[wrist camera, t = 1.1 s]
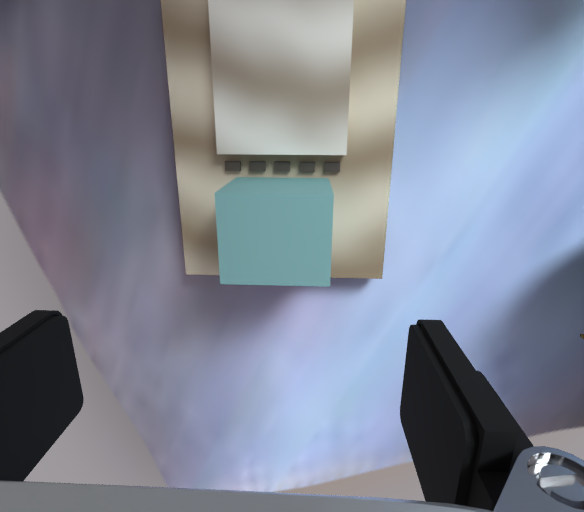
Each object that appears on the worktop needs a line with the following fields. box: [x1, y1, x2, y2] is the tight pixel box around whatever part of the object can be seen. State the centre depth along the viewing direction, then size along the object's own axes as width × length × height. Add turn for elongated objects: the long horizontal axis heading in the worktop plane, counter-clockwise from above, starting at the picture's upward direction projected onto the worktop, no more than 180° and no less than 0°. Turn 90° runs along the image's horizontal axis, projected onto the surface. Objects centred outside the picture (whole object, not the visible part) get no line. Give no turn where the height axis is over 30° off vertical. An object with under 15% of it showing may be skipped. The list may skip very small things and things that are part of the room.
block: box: [215, 177, 334, 287], centre depth 23 cm, size 5×6×6 cm
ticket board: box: [161, 0, 406, 279], centre depth 25 cm, size 18×14×3 cm
